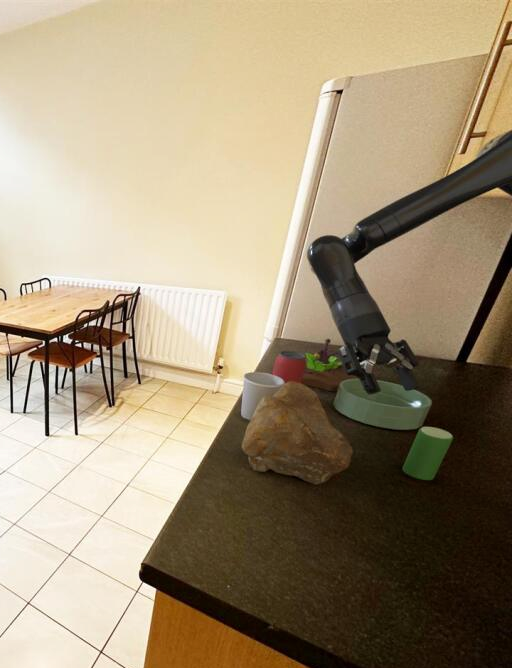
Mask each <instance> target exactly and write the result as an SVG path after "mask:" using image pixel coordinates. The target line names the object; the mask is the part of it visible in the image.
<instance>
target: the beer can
mask: <svg viewBox="0 0 512 668" xmlns="http://www.w3.org/2000/svg"><path fill="white" fill-rule="evenodd" d="M305 358H307V355H306V354H304V353H302V352H298V351H292V350H282V351H280V352H279V354H278V356H277V357H276V358H275V360H274V365H273V368H272V373H271V374H272V375H275V376H278V377H280V378H281V379H283V380H284V382H285V384H286V383H287V382H290V381H294V382H298V383H301V381H302V378H303V374H304V371H305V367H306V359H305ZM285 384H284V385H285ZM284 385H283V386H284ZM283 386H282V387H283Z"/></svg>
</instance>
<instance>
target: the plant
mask: <svg viewBox="0 0 512 668" xmlns="http://www.w3.org/2000/svg"><path fill="white" fill-rule="evenodd" d="M331 341H332V340H331V339H330V338H326V339H325V340H324V345H323V348H322V349H320V350H319V351H317V352H316V353H314V355H313V354H312V353H310V352H306V353H305V356H306V358H305V359H306V367H305V371H304V374H303V378H302V381H301V384H303V385H305V386H307V387H309V388H315V389H319V390H324V391H327V392H331V393H332V392H333V393H337V391H338V388H339V385H340V383H341V382H342V381H345V380H348V379H359V378H357V377H356V376H355V375H350V376H349V375H347V374H346V372H345V370H344V367H343V365H342V362H341V361H336V360H337V358H338V357H337V356H335V355H338V352H337V351H335V352H331V353H329V354H328V347H329V344H331ZM351 368H353V366H351Z"/></svg>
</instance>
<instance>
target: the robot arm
mask: <svg viewBox="0 0 512 668" xmlns="http://www.w3.org/2000/svg"><path fill="white" fill-rule="evenodd" d="M496 189H498V190H500V191H502V192H504V193H505V194H508V196H510V197H512V129H509V130H507V131H504V132H503V133H501V134H499V135H497V136H494V137H493V138H491V139H490V140H489V141H487V142H486V143H484V144H483V146H481V148H480V149H479V151H478V152H477V154H476V156H475V159H473V160H471V161H470V162H469V163H466V164H465V165H464V166H462V167H460V168H458V169H456V170H455V171H453V172H451V173H450V174H447V175H446V176H444V177H442V178H439V179H438V180H435V181H434V182H432V183H430V184H428V185H426V186H423V187H421V188H419V189H417V190H415V191H413V192H410V193H408V194H407V195H404V196H403V197H401V198H398V199H397V200H395V201H393V202H391V203H388V204H387V205H385V206H383V207H382V208H380V209H378V210H376V211H375V212H372V213H371V214H369V215H367V216H365V217H363V218H362V219H360V220H359V221H357V222H356V223H355V224H354V225H353V227H352V228H351V230H350V232H349V233H347V234H346V235H345V236H343V237H342V238H341V237H340V236H337V235H332V234H326V235H321V236H319V237H317V238H315V239H314V240H313V241H312V242H311V243H310V244H309V245H308V247H307V249H306V253H305V254H306V255H305V256H306V260H307V265H308V268H309V270H310V272H311V273H312V274H314V275H315V276H316V278H317V280H318V282H319V285H320V288H321V292H322V295H323V298H324V300H325V302H326V304H327V306H328V308H329V311H330V314H331V317H332V320H333V322H334V324H335V327H336V328H337V331H338V334H339V335H340V337H341V339H342V341H343V343H344V345H343V346H341V347H340V348H338V349H337V350H336V352H338V354H337V355H338V357H339V359H340V362H342V365H343V367H344V370H345V372H346V374H347V375H349V376H350V375H355V376H356V377H357V378H359V379H360V381H361V383H362V385H363V388H364V390H365V391H366V392H367V393H368V394H375V393H378V392H380V391H381V389H380V387H379V385H378V383H377V381H376V380H377V378H376V377H375V375H374V373H372V372H373V367H374V365H375V366H376V365H378V366H383V367H385V368H388V369H391V370H392V371H394V372H395V373H396V374H397V375H396V376H397V378H398V380H399V382H400V384H401V385H402V386H403V387H404V389H405V390H406V391H411V390H416V389H418V388H419V387H420V385H419V381H418V380H417V378H416V376H415V374H414V372H413V369H414V368H416V367H419V366H420V361H419V360H418V359H417V357H416V355H415V353H414V352H413V350H412V348H411V347H410V345H409V344H408V342H407V341H406V340H405V339H400V340H398V341H395V342H393V341H392V340H391V339H390V338H389V335H390V333H391V332H392V331H391V328H390V326H389V324H388V321H386V319H385V316H384V314H383V313H382V311H381V309H380V307H379V305H378V302H377V301H376V300H375V299H374V298H373V296H372V295H371V293H370V292H369V289H368V288H367V286H366V283H365V282H364V279H363V278H362V277H361V276H360V274H359V272H358V270H357V268H356V265H355V264H356V263H358V262H359V261H360V260H362V259H364V258H366V257H367V256H368V255H369V254H371V253H372V252H373V251H375V250H377V249H378V248H380V247H382V246H384V245H386V244H388V243H390V242H393V241H394V240H396V239H398V238H400V237H402V236H404V235H406V234H408V233H410V232H411V231H413V230H416V229H418V228H419V227H420V226H423V225H424V224H426V223H428V222H430V221H432V220H434V219H435V218H437V217H440V216H441V215H443V214H445V213H447V212H449V211H451V210H452V209H454V208H456V207H458V206H460V205H463V204H465V203H467V202H469V201H471V200H473V199H475V198H477V197H480V196H482V195H484V194H487V193H488V192H491V191H493V190H496ZM406 358H407V359H408V361H409V362H408V361H407V360H406ZM351 365H352V366H351ZM399 365H400V366H399ZM351 367H352V368H351Z"/></svg>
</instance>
